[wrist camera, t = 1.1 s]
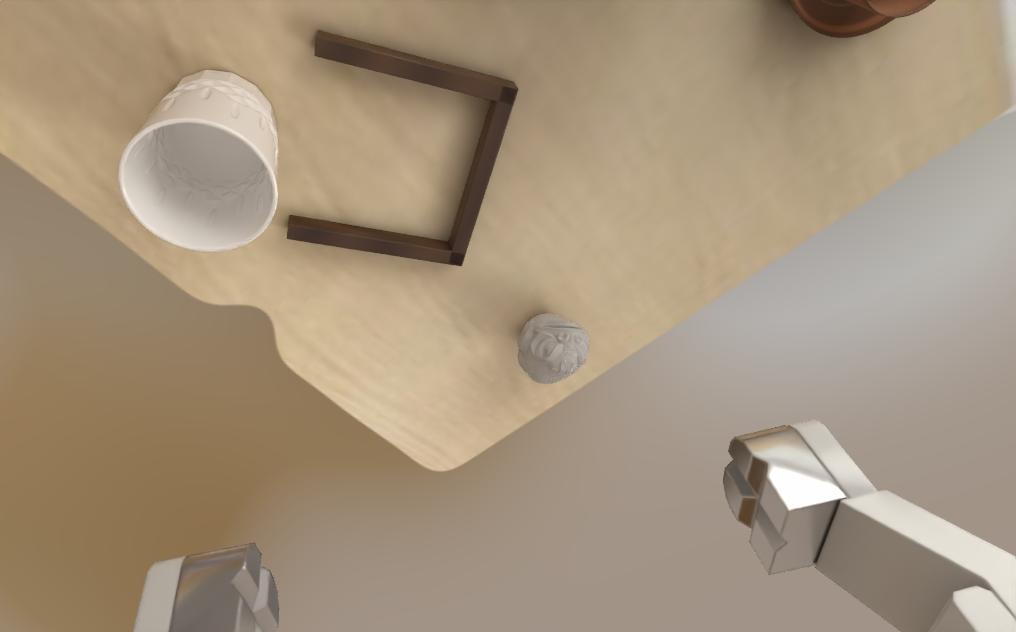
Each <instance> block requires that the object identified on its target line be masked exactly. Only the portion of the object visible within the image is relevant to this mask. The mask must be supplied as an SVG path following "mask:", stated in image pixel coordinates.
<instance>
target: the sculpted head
mask: <svg viewBox="0 0 1016 632" xmlns="http://www.w3.org/2000/svg"><path fill="white" fill-rule="evenodd" d="M518 347H519V352H518V360H519V364H520V366H521V367H522V369H523V370H524V371H525V372H527V373H528V375H529V377H530V378H531V379H532V380H534V381H536V382H538V383H544V384H545V383H546V384H551V383H555V382H558V381H560V380H563V379H565V378H567V377H568V376H570V375H571V374H573V373H575V372H576V371H577V370H578V369H579V368H580V367H581V366H582V364H585V361H586V357H587V354H588V351H589V339H588V332H586V331H585V330H582V328H580V327H579V326H577V325H576V324H575V323H574V322H571V321H568V320H566V319H565V318H564V317H562V316H560V315H557V314H553V313H543V314H539V315H536V316H534V317H533V318H531V319H530V320H529V321H528V322H527V323H526V324H525V325H524V327H523V329H522V331H521V334H520V337H519V339H518Z"/></svg>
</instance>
